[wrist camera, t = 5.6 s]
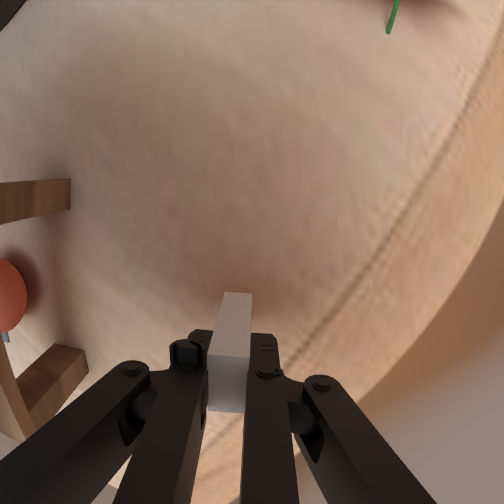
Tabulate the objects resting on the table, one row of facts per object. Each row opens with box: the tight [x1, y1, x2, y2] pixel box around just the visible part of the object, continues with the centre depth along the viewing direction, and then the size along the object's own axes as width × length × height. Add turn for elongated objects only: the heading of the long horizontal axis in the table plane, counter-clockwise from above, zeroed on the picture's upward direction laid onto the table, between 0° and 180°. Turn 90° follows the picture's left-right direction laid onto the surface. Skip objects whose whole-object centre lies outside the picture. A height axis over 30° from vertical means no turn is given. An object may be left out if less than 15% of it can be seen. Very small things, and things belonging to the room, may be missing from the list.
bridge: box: [0, 179, 89, 443], centre depth 14 cm, size 3×14×9 cm, turn 176°
